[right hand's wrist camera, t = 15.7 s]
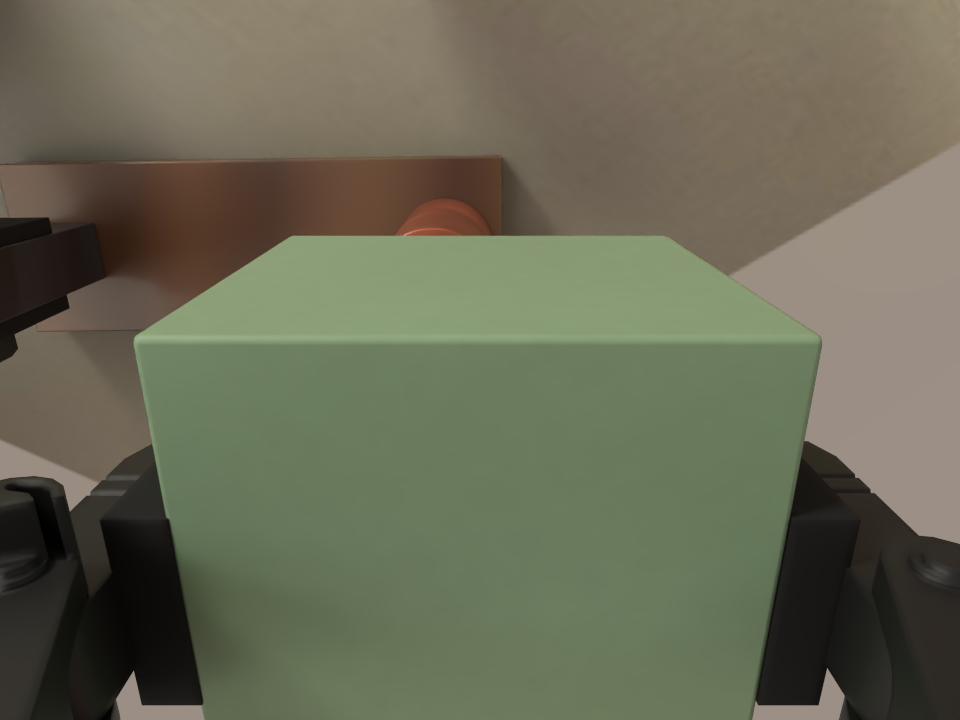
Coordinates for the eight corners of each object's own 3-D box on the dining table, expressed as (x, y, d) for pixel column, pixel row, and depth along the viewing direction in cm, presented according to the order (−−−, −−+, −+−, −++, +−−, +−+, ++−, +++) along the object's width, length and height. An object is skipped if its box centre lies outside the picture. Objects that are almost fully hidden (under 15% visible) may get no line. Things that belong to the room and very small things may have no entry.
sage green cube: (320, 553, 15) (221, 824, 9) (288, 234, 12) (127, 336, 7) (637, 553, 15) (735, 825, 9) (668, 234, 12) (827, 336, 7)
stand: (58, 321, 39) (-204, 448, 24) (20, 161, 36) (-308, 193, 21) (501, 315, 39) (515, 439, 24) (500, 155, 36) (516, 181, 21)
